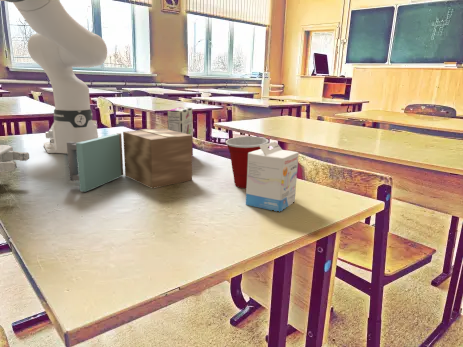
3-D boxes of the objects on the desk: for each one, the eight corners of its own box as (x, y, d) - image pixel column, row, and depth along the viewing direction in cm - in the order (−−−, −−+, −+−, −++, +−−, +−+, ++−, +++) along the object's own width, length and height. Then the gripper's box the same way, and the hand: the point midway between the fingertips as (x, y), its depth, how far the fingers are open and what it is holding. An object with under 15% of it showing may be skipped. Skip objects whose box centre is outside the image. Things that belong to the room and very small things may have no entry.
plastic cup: (216, 182, 94) (217, 137, 91) (249, 177, 100) (251, 134, 97) (240, 194, 85) (242, 144, 82) (274, 187, 91) (278, 141, 88)
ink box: (279, 213, 75) (284, 150, 71) (244, 204, 79) (247, 144, 75) (295, 201, 82) (300, 143, 78) (262, 194, 86) (265, 139, 82)
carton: (125, 175, 98) (123, 131, 94) (163, 169, 106) (162, 127, 102) (152, 188, 88) (151, 138, 84) (192, 179, 96) (192, 134, 92)
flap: (105, 172, 99) (103, 131, 96) (124, 174, 97) (122, 133, 94) (64, 188, 84) (59, 141, 81) (85, 191, 83) (81, 143, 80)
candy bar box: (179, 154, 125) (179, 106, 120) (193, 155, 124) (193, 107, 120) (167, 161, 114) (166, 109, 110) (182, 163, 113) (182, 110, 109)
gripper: (-77, 158, 69) (4, 157, 72) (-29, 140, 88) (33, 139, 91) (-71, 190, 71) (8, 187, 74) (-25, 165, 90) (35, 163, 93)
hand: (22, 160), depth 83 cm, fingers open, 8 cm apart
